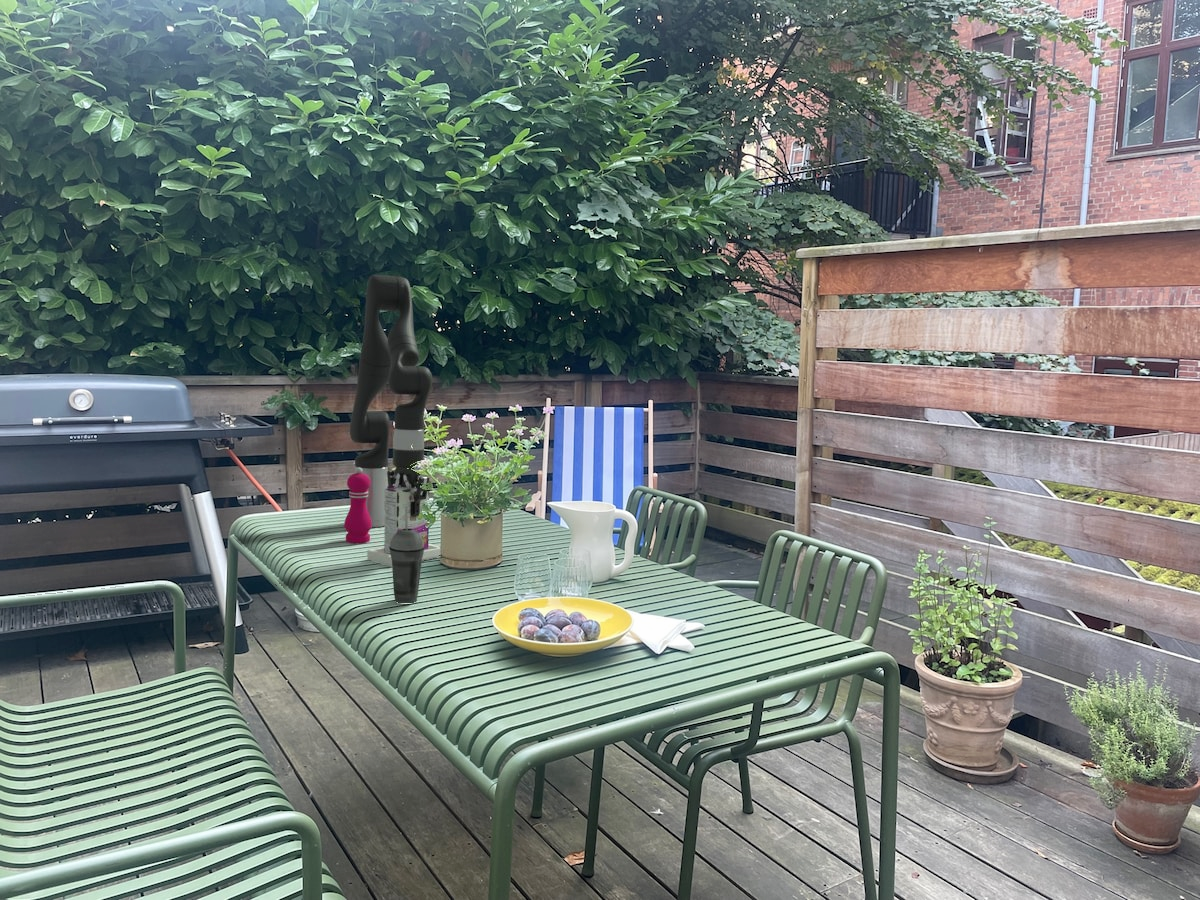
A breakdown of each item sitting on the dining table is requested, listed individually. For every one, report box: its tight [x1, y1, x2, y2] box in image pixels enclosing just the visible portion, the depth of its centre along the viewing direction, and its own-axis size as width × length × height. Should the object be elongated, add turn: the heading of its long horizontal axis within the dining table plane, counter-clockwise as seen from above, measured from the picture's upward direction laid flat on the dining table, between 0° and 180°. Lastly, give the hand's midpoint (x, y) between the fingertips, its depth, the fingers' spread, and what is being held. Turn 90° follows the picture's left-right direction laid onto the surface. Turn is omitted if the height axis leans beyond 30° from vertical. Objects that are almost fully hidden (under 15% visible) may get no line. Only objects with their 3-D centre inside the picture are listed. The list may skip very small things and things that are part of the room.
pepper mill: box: [343, 467, 373, 544], centre depth 236 cm, size 7×7×20 cm
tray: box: [366, 543, 441, 568], centre depth 221 cm, size 10×16×2 cm, turn 141°
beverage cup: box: [389, 507, 425, 604], centre depth 184 cm, size 7×7×20 cm
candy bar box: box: [383, 486, 430, 555], centre depth 220 cm, size 11×5×16 cm, turn 148°
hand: (407, 514), depth 220 cm, fingers closed on candy bar box, 5 cm apart
